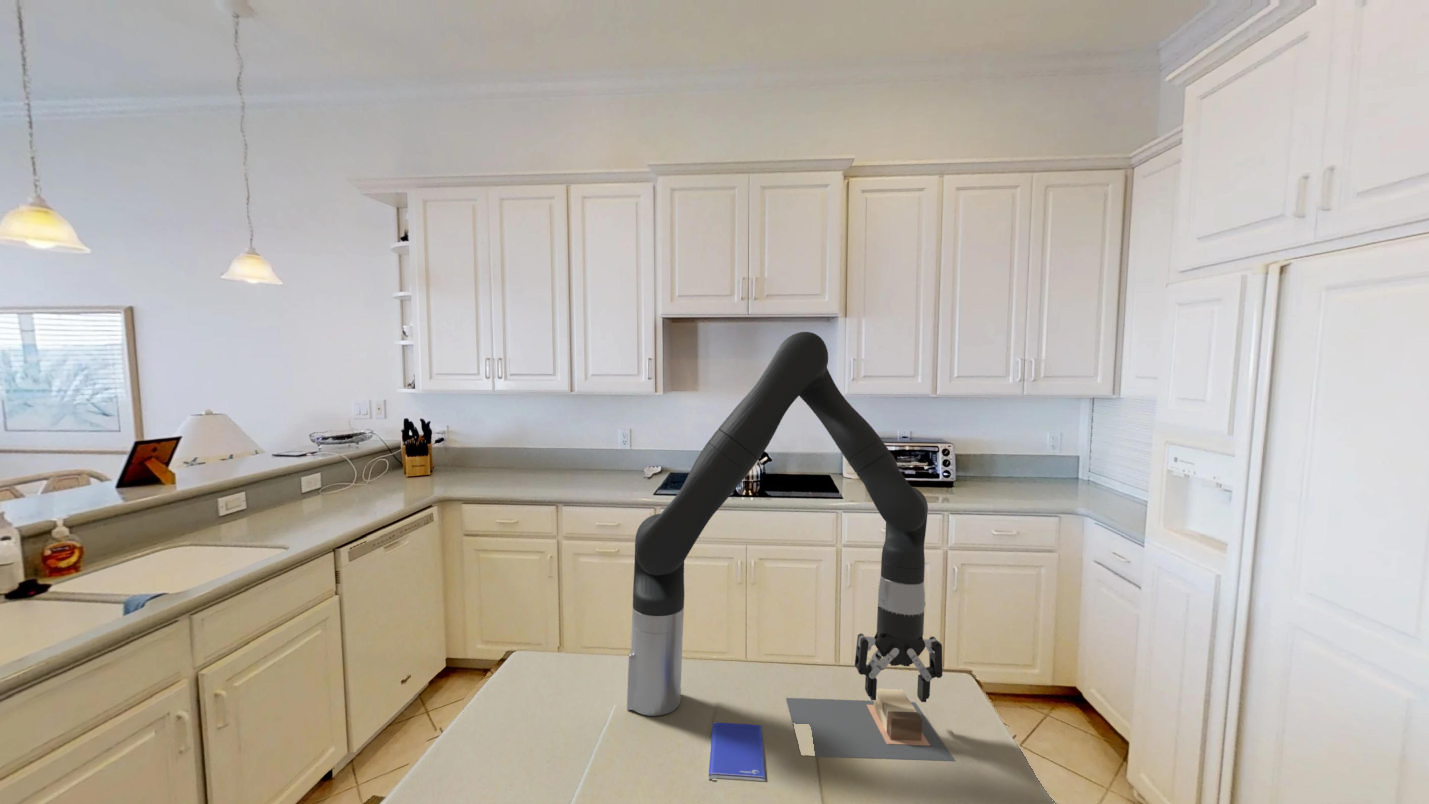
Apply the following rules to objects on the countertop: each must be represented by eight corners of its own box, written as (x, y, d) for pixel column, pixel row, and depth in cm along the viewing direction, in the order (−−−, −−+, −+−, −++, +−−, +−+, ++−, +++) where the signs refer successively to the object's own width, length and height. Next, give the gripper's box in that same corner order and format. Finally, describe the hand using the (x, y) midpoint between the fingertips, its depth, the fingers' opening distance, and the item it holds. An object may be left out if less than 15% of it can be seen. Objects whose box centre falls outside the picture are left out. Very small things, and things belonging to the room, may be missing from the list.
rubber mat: (800, 758, 81) (800, 755, 81) (785, 700, 97) (785, 697, 97) (955, 763, 81) (955, 760, 81) (915, 704, 97) (915, 701, 97)
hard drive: (765, 776, 75) (761, 724, 88) (708, 772, 76) (712, 721, 88) (765, 787, 75) (761, 734, 88) (708, 783, 76) (712, 730, 88)
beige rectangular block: (873, 707, 95) (874, 688, 95) (901, 708, 95) (901, 689, 95) (890, 739, 86) (891, 718, 86) (921, 740, 86) (922, 719, 86)
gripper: (933, 598, 94) (929, 688, 94) (853, 594, 94) (849, 685, 94) (952, 614, 86) (947, 713, 86) (865, 610, 86) (861, 709, 86)
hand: (896, 698), depth 90 cm, fingers open, 8 cm apart
